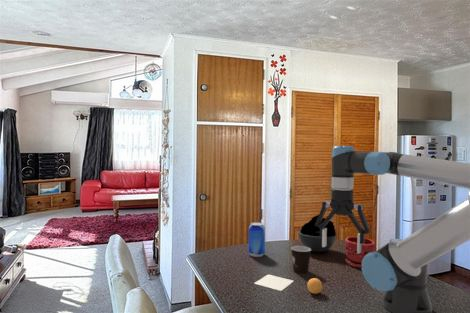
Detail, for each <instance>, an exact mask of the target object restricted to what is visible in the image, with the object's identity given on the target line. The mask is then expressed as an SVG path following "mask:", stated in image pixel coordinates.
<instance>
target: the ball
mask: <svg viewBox="0 0 470 313" xmlns="http://www.w3.org/2000/svg"><path fill="white" fill-rule="evenodd" d="M306 286H307V289H308V291H309V292H310V293H311V294H313V295H316V294H319V293H321V292H322V291H323V283H322V281H321V280H320V279H319V278H317V277H315V278H314V277H313V278H310V279H309V280H308V281H307V285H306Z"/></svg>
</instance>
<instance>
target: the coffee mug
mask: <svg viewBox="0 0 470 313" xmlns="http://www.w3.org/2000/svg"><path fill="white" fill-rule="evenodd" d="M290 250H291V260H292V271H293V273H296V274H300V275H301V274H302V275H303V274H308V272H309V266H310V260H311V253H312V252H311V249H310V248H308V247H305V246H304V245H294V246H292V247H290Z"/></svg>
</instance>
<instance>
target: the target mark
mask: <svg viewBox="0 0 470 313" xmlns="http://www.w3.org/2000/svg"><path fill="white" fill-rule="evenodd" d="M294 282H295V281H294V280H292V279H288V278H284V277H281V276H276V275H274V274H273V275H272V274H270V273H269V274H267V275H265V276H263V277H261V278H260V279H258V280H256V281H255V282H254V283H253V284H254V285H257V286H260V287H264V288H268V289H271V290H275V291H279V292H282V291H284V290H285V289H286V288H287V287H289V286H290V285H292V284H293V283H294Z"/></svg>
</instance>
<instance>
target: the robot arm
mask: <svg viewBox="0 0 470 313" xmlns="http://www.w3.org/2000/svg"><path fill="white" fill-rule="evenodd" d="M355 174H361V175H362V174H363V175H372V176H379V175H381V176H382V175H385V174H389V175H394V176H401V177H406V178H410V179H411V178H412V179H417V180H421V181H427V182H432V183H436V184H441V185H447V186H451V187H458V188H461V189H467V190H468V197H467V198H465V199H463V200H462V201H461V202H460V203H458V204H457V205H455V206H453V207H452V208H450V209H449V210H447V211H446V212H444V213H442V214H441V215H440V216H438V217H436V218H435V219H433V220H432V221H430V222H429V223H427V224H425V225H424V226H422V227H421V228H420V229H418V230H416V231H415V232H413V233H411V234H409V235H408V236H407V237H405V238H404V239H401V238H390V239H389V240H388V243H386V244H385V245H383V246H381V247H380V248H378V249H377V250H374V252H370V253H368V254H367V255H365V256H364V258H363V260H362V268H361V272H362V275H363V277H364V279H365V281H366V282H367V283H368V284H369V285H370V286H371V287H372V288H373V289H376V290H377V291H379V292H383V295H382V303H381V304H382V307H383V308H385V309H386V310H387V311H389V312H390V313H433V305H432V301H431V299H430V295H429V293H428V288H427V285H428V283H427V282H428V264H429V263H431V262H433V261H434V260H437V259H438V258H440V257H442V256H443V255H446V254H447V253H449V252H451V251H452V250H455V249H456V248H458V247H459V246H461V245H463V244H465V243H467V242H469V241H470V162H464V161H463V162H462V161H455V160H447V159H442V158H432V157H427V156H421V155H420V156H419V155H412V154H403V153H399V152H395V151H387V152H386V151H373V150H372V151H355V147H354V146H352V145H335V146H333V147H332V154H331V190H330V191H331V194H330V195H331V197H330V201H327V200H325V201H323V202H322V203H321V209H320V211H319V214H318V215H319V216H318V218H317V220H316V223H315V226H317V227H319V228H320V237H322V247H325V246H326V243H327V228H324V227H325V226H326V225H327V223H328V222H329V221H332V218H333V217H334V216H335V215H337V216H340V215H341V216H345V217H346V216H347V218H349V219H350V222H352V224H353V225H354V227H355V228H356V230H357V231H358V233H357V236H356V237H357V253H360V252H361V244H364V242H365V238H366V237H365V235H366V234H369V233H371V228H370V226H369V223H368V221H367V218H366V216H365V213H364V207H363V204H355V203H354V181H355V180H354V178H355V177H354V175H355ZM329 207H330V209H332V210H331V211H330V212H329V214H328V215H327V216H326V217H324V216H325V214H326V212H327V210H328V208H329ZM354 209H355V211H357V214H358V216H359V219H357V217H356V215H355V213H354V212H353V210H354ZM323 218H326V219H325V220H324V221H323V223H322V224H321V221H322V219H323ZM359 220H360V221H359ZM360 222H361V223H360Z"/></svg>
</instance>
